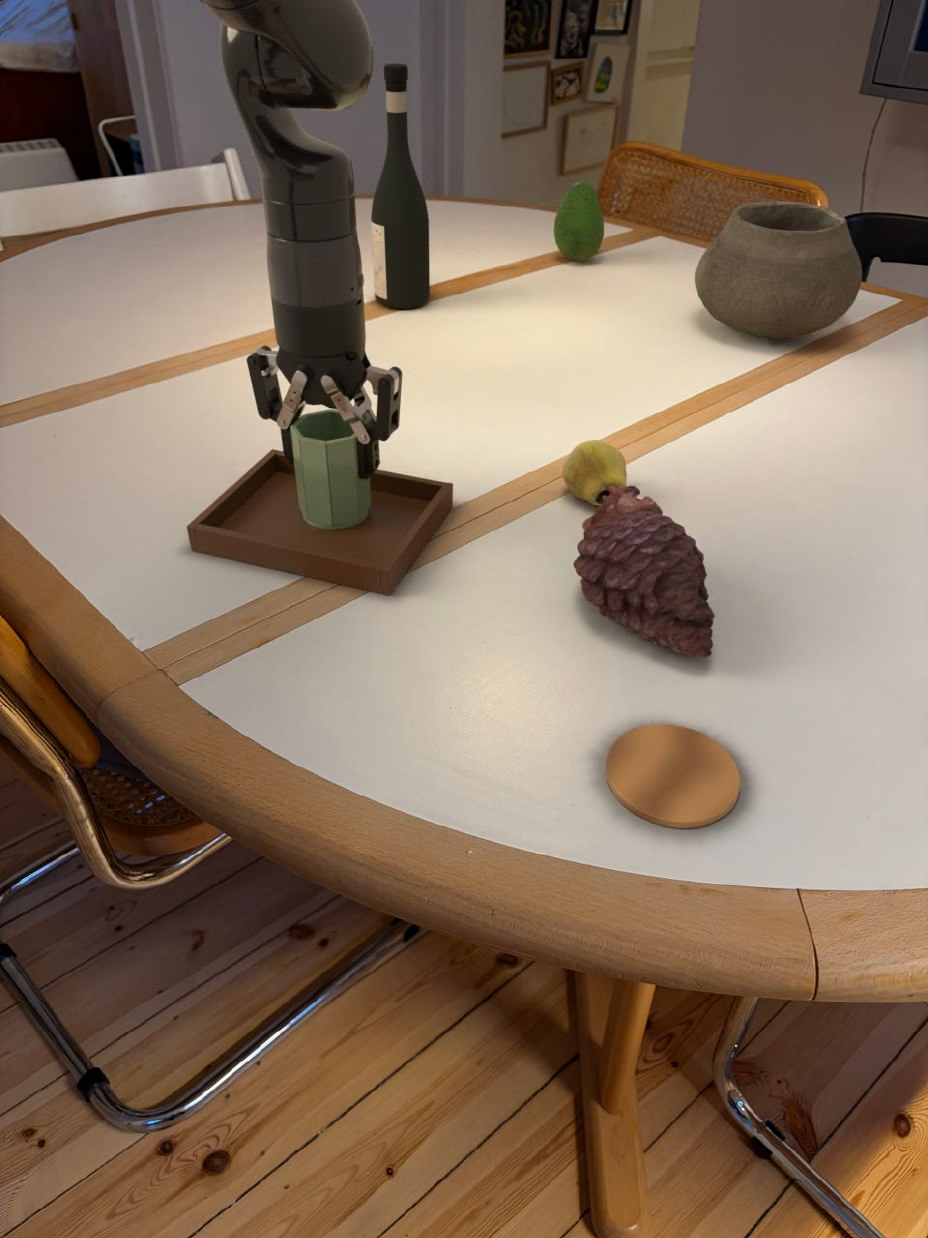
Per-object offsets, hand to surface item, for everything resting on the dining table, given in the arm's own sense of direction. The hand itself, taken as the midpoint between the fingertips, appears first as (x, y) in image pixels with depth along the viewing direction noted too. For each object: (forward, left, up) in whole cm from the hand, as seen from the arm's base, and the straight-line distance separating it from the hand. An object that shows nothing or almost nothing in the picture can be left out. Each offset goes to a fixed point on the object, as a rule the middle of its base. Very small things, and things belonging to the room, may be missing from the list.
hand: (332, 467), depth 86 cm
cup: (0, 0, -5) cm, 5 cm away
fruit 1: (+2, +85, -6) cm, 85 cm away
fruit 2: (+23, +12, -6) cm, 27 cm away
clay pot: (+34, +66, -5) cm, 74 cm away
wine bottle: (-17, +57, -6) cm, 60 cm away
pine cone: (+30, -5, -6) cm, 31 cm away
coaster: (+36, -22, -5) cm, 43 cm away
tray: (0, -2, -5) cm, 6 cm away
